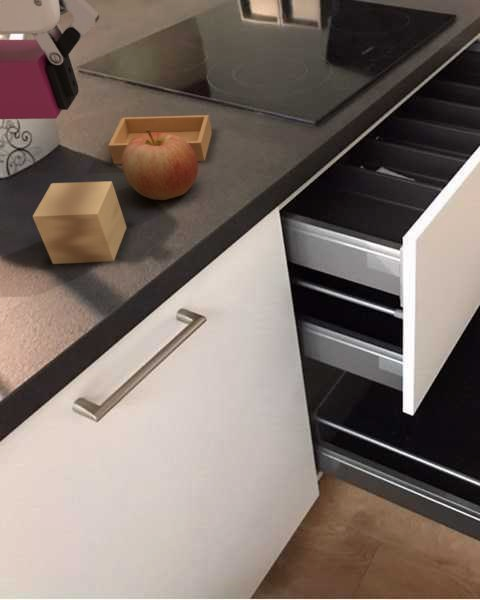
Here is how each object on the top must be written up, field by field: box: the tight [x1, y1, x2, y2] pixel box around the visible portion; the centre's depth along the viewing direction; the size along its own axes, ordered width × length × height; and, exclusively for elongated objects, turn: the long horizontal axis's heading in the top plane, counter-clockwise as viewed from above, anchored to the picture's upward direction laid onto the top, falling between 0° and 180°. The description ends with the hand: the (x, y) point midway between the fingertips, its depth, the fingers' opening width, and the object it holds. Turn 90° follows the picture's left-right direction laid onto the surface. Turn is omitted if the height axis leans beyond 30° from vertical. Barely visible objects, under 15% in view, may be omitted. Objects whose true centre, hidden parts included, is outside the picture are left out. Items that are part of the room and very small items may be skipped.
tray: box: [107, 114, 213, 165], centre depth 83 cm, size 11×8×3 cm
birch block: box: [32, 180, 127, 265], centre depth 67 cm, size 6×6×6 cm
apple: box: [121, 129, 199, 201], centre depth 74 cm, size 8×8×8 cm
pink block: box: [0, 39, 62, 120], centre depth 57 cm, size 5×5×5 cm
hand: (33, 101), depth 58 cm, fingers closed on pink block, 5 cm apart
